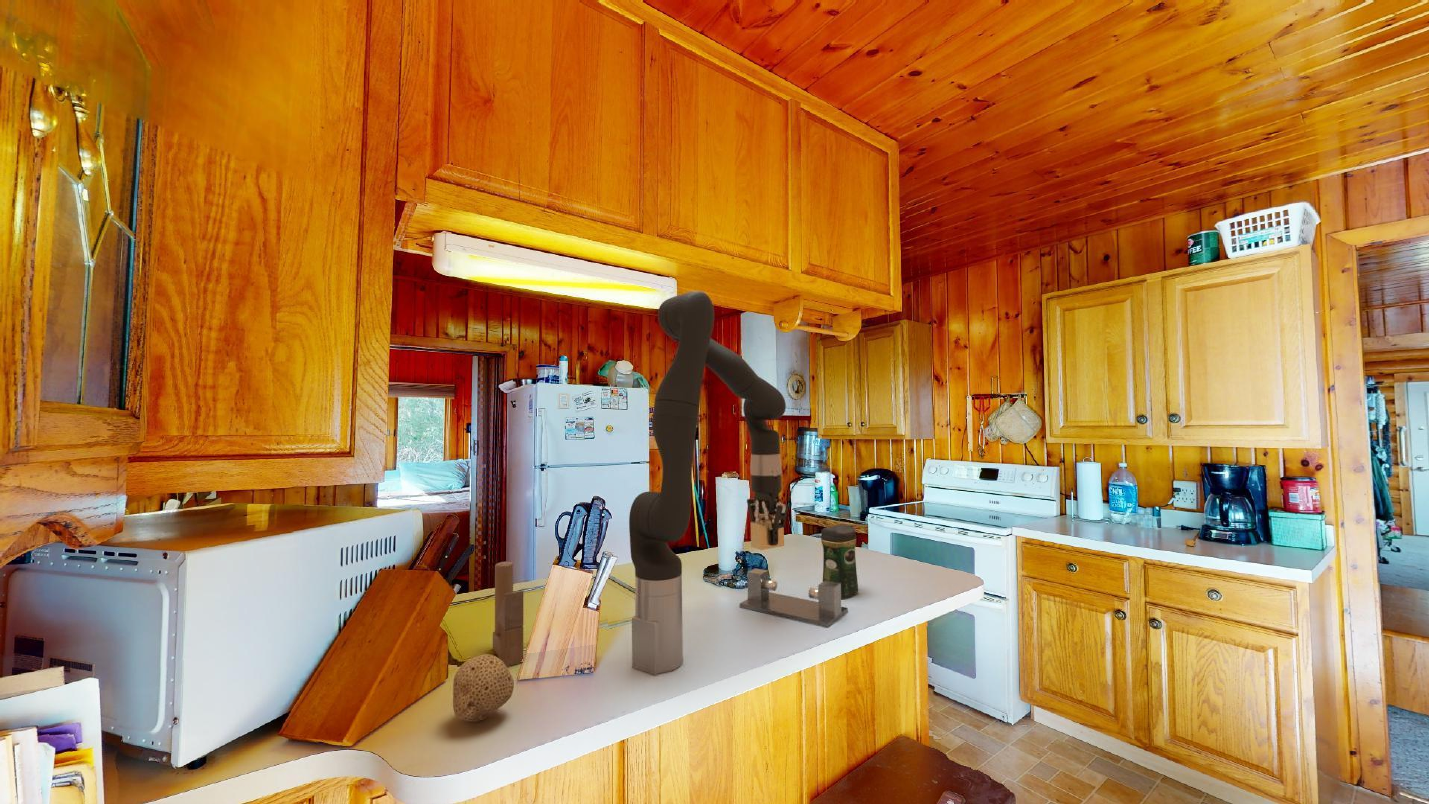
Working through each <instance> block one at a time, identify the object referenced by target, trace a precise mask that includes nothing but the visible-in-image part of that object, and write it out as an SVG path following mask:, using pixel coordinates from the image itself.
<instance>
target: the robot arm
mask: <svg viewBox="0 0 1429 804" xmlns="http://www.w3.org/2000/svg"><path fill="white" fill-rule="evenodd" d="M657 318H658V323H659V326H660V327H661V328H660V329H662V331H663V332H664V333H665V334H666V336H668V338H670V339H671V340H673V341H674V342H676V343H677V345H678V346H677V349H676V353H675V356H674V357H673V358H674V359H673V361H672V363H671V364H670V366H669V368H668V369H667V371H666V373H665V375H664V377H663V378H662V380H661V382H660V384H659V386H658V388H657V391H656V394H655V398H654V404H653V411H652V419H651V428H652V434H653V438H654V441H655V444H656V447H657V449H658V452H659V456H660V459H661V465H662V477H661V487H660V491H659V492H658V491H643V492H642V493H639V494H638V495H637V496H636V497H635V498H634V500H633V502H632V503H631V506H630V510H629V511H630V512H629V515H628V516H629V517H628V518H629V519H628V523H629V524H628V526H629V527H628V529H629V546H630V547H629V548H630V558H631V561H632V564H633V566H634V575H635V577H634V578H635V579H634V580H635V583H634V584H635V587H634V591H635V594H634V596H635V599H634V600H635V601H634V603H635V604H634V605H635V614H634V616H632V617H631V667H632V668H634V669H637V670H639V671H643V672H646V673H647V674H648V673H649V674H651V675H654V676H657V675H658V674H661V673H667V672H671V671H674V670H676V669H677V668H679V667H681V665H682V664H683V661H684V651H683V649H684V646H683V645H684V643H683V642H684V640H683V569H682V568H683V563H682V559H681V558H680V557H679V555H677V554H676V553H675V552H674V551H672V549H671V547H670V546H669V544H668V543H677V541H680V540H681V539H682V538H683V536H684V535H685V534H686V532H687V529H688V528H689V527H688V526H689V524H690V523H689V522H690V518H691V511H692V509H691V508H692V505H691V504H692V478H693V477H692V475H693V474H692V473H693V459H694V452H695V440H696V433H697V428H698V427H697V426H698V422H699V421H698V420H699V413H700V403H701V402H700V401H701V393H702V385H703V378H704V371H705V366H706V367H707V368H708V369H710V370H711V372H713V373H714V374H715V375H716V376H717V377H718V378H719V379H720V380H721V381H722V382H723V383H724V384H725V385H726V387H727V388H728V389H729V390H730V391H731V392H732V394H734V395H735V396H736V397H738V398H740V399H742V400H744V402H743V407H742V408H743V414H744V418H745V422H746V426H747V429H748V433H749V436H750V454H751V456H750V466H749V468H750V491H751V493H754V495H753V498H747V499H746V503H747V508H748V513H749V518H750V523H751V522H755V521H761V520H767V521H768V526H769V529H770V530H769V545H771V546H774V545H777V544H778V529H779V528H783V527H784V528H785V526H786V525H785V524H786V519H787V515H788V510H789V505H788V504H787V503H785V504H784V503H782V502H781V500H780V499H781V498H780V496H779V495H780V493H781V492H782V490H783V485H782V484H783V483H782V481H783V480H782V476H783V475H782V460H781V448H780V447H781V446H780V445H781V444H780V434H779V432H778V431H777V430H775V429H771V428H769V427H768V424H767V421H769V420H770V421H771V420H772V421H773V420H777V419H780V418H782V416H783V415H784V414H785V412H786V407H787V406H786V404H787V403H786V400H785V397H784V395H783V394H782V393H781V392H780V390H779V389H777V388H776V387H775V386H774V385H772V384H770V383H769V382H768V381H766V380H765V379H764V378H762V377H761V376H758V374H757V373H756V372H755V370H754V369H753V368H752V367H751V366H750V365H749V364H748V362H747V361H746V360H745V359H743V357H741V356H740V355H739V354H738V353H736V352H734V351H733V350H731V349H729V348H728V347H726V346H724V345H722V344H721V343H718V342H717V341H716V340H714V339H712V333H713V328H714V323H715V308H714V304H713V301H712V300H711V298H710V297H709V295H708V294H707V293H706V292H704V291H701V290H693V291H689V292H685V293H682V294H681V293H680V294H679V295H676V296H672V297H670V298H667V299H665V300H664V301H662V303H661V304H660V306H659V307H658V311H657ZM772 520H774V524H773V523H772ZM779 520H781V521H780V523H779Z"/></svg>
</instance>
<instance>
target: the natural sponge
mask: <svg viewBox="0 0 1429 804" xmlns="http://www.w3.org/2000/svg"><path fill="white" fill-rule="evenodd" d="M508 668H509V667H506V665H505V664H504V662H503V661H502V660H501V659H500V658H499V657H498V656H495V655H492V654H488V653H484V654H479V655H476V656H473V657H471V658H469V659H468V660H466V661H465V662H463V663H462V664H461V665H460V666H459V668H458V669H457V671H456V672H455V674H454V677H453V684H452V685H453V686H452V690H453V691H452V696H453V697H452V699H453V700H452V707H453V712H454V714H455V715H454V716H456V718H457V719H459V720H461V721H470V722H471V723H472V722H473V723H476V722H482V721H483V720H486V719H487V718H488V717H489V716H490V715H492V713H493V712H495V711H497V710H499V709H500V708H501V707H503V706H505V704H506V703H507V702H508V701H509V700H510V699H511V697H512V695H513V692H514V687H515V680H514V677H513V675H512V673H511V672H510V669H508Z"/></svg>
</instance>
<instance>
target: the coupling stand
mask: <svg viewBox="0 0 1429 804" xmlns="http://www.w3.org/2000/svg"><path fill="white" fill-rule="evenodd" d="M777 589H778V582H777V581H775V580H771V579H769V570H767V569H761V568H752V569H751V570H749V571H747V599H746V600H744V601H742V602H739V608H740V607H741V609H744V610H745V609H746V610H749V609H750V611H753V612H759V613H762V612H763V614H766V615H772V616H775V617H779V618H784V619H788V620H792V621H797V620H798V622H801V623H806V624H811V625H815V626H819V627H823V628H829V627H830V626H832V625H833V624H835V623H836V622H837V621H839V620H840V619H841V618H842V617H844V616H845V615H846V614H847V613H848V612H849V609H848V607H846V606H845V607H844V606H842V598H841V583H836V582H831V581H824V582H823V581H822V582H820V583H818V585H817V588H815V587H814V588H813V587H810V588H809V590H808V598H809V599H804V598H802V597H801V598H800V597H797V596H796V597H795V596H790V595H785V594H780V593H775V592H776V590H777ZM770 591H773V592H770ZM810 599H811V600H810ZM812 599H813V600H812ZM815 600H817V601H815Z"/></svg>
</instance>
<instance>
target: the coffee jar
mask: <svg viewBox="0 0 1429 804" xmlns="http://www.w3.org/2000/svg"><path fill="white" fill-rule="evenodd" d="M856 533H857V532H856V529H855V528H854V526H853V525H848V524H843V523H842V524H841V523H840V524H836V525H832V526H827V527H824V528H823V529H821V535H820V536H821V537H820V542H821V545H822V549H823V550H822V551H823V552H822V553H823V557H822V559H823V561H822V563H823V565H822V566H823V567H822V568H823V569H822V582H824V581H831V582H836V583H841V599H846V598H850V597H852V596H854V595H856V594H857V593H858V592H859V582H858V581H859V580H858V573H857V562H856V546H857V545H856V543H857V534H856Z"/></svg>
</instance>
